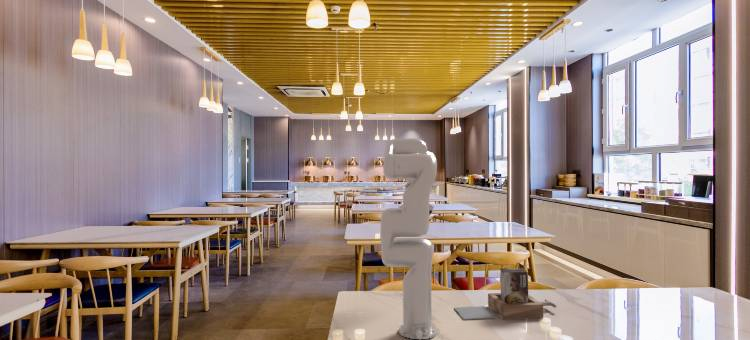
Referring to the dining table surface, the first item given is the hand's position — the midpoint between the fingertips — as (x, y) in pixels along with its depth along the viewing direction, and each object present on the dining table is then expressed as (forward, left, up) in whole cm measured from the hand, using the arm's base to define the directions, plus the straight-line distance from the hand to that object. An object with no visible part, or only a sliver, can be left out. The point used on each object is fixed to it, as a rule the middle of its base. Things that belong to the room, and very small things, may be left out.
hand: (416, 226), depth 173 cm
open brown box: (-24, -37, -30) cm, 53 cm away
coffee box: (-24, -33, -31) cm, 51 cm away
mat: (-24, -17, -30) cm, 42 cm away
